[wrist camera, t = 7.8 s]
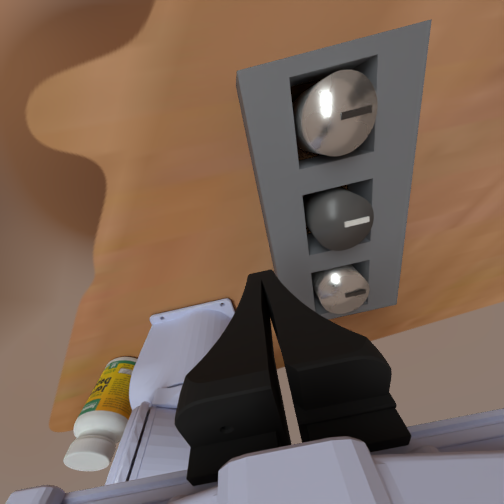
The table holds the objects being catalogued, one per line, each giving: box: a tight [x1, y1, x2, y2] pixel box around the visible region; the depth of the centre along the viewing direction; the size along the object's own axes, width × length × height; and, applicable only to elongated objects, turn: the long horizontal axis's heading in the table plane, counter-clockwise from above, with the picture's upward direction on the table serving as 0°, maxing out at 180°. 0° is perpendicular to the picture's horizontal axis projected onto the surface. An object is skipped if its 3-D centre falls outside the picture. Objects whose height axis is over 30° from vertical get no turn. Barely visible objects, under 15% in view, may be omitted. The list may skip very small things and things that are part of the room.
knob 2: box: [311, 264, 370, 314], centre depth 22 cm, size 4×4×4 cm
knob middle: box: [303, 186, 374, 251], centre depth 18 cm, size 4×4×4 cm
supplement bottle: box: [64, 357, 137, 471], centre depth 25 cm, size 5×5×10 cm
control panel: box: [236, 19, 432, 319], centre depth 19 cm, size 11×21×4 cm, turn 13°
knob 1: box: [292, 70, 378, 156], centre depth 15 cm, size 4×4×4 cm
